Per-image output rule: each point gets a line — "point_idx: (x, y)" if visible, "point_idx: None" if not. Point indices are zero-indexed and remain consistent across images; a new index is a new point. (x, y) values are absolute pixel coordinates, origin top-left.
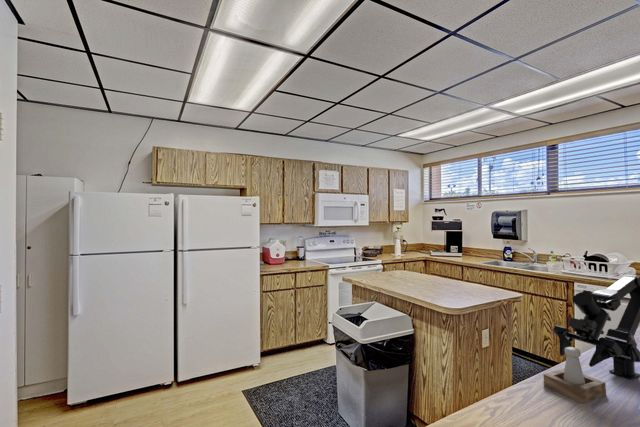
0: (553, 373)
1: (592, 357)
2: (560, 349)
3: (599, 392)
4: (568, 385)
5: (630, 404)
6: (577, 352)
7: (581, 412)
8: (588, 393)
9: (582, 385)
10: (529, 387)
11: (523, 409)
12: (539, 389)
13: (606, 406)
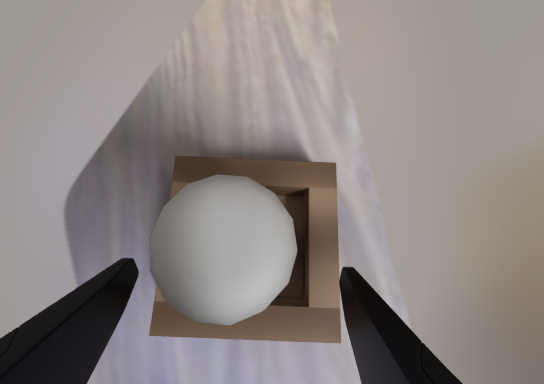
0: (322, 209)
1: (68, 308)
2: (375, 300)
3: None
4: (226, 158)
5: None
6: (159, 222)
7: (169, 119)
8: None
9: None
10: (336, 126)
11: (258, 11)
12: (313, 142)
13: (141, 223)
